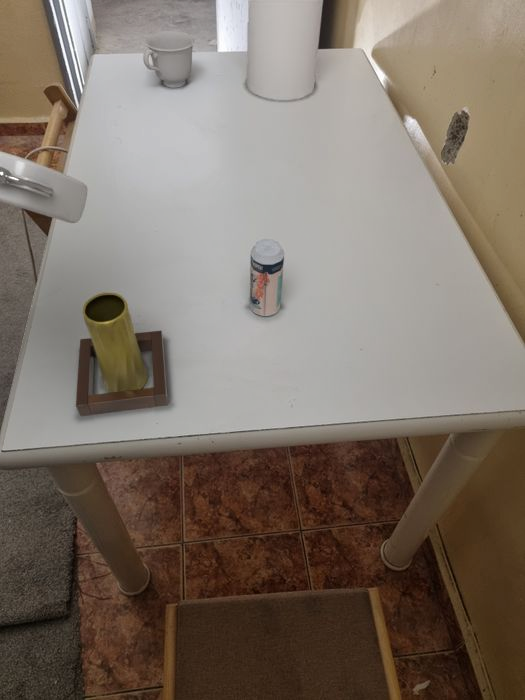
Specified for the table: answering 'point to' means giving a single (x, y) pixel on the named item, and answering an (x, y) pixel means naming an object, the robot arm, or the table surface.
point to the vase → (115, 342)
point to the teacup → (170, 56)
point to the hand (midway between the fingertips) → (32, 191)
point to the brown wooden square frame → (122, 399)
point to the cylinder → (282, 47)
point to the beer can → (266, 277)
